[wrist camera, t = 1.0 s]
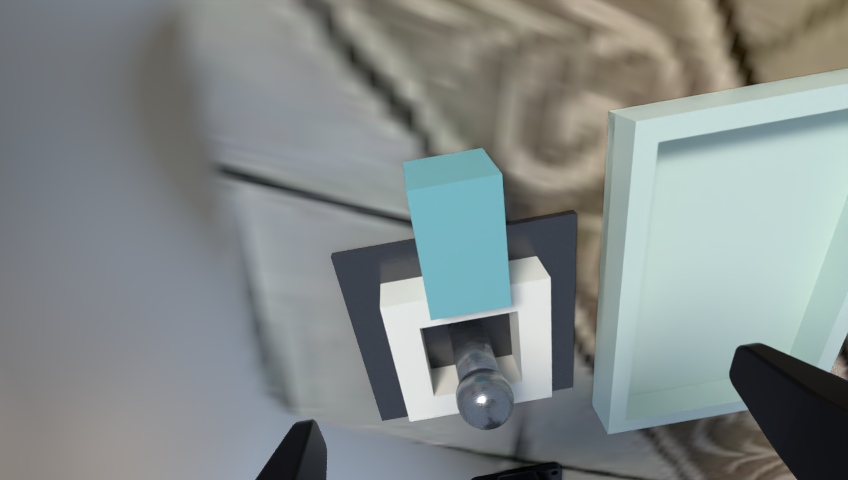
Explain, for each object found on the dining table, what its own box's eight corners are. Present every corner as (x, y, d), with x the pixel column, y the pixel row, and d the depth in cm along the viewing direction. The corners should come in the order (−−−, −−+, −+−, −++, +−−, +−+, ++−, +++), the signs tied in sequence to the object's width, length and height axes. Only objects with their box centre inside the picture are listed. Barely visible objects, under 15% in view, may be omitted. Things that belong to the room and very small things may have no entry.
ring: (539, 369, 24) (562, 419, 21) (408, 393, 24) (411, 446, 21) (533, 138, 18) (563, 162, 15) (351, 171, 18) (344, 202, 15)
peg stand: (570, 382, 26) (620, 481, 20) (382, 415, 26) (380, 523, 20) (573, 209, 20) (645, 281, 14) (332, 253, 20) (310, 341, 14)
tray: (787, 370, 27) (818, 397, 25) (592, 404, 27) (607, 434, 25) (903, 58, 18) (967, 62, 16) (608, 111, 18) (636, 121, 16)
